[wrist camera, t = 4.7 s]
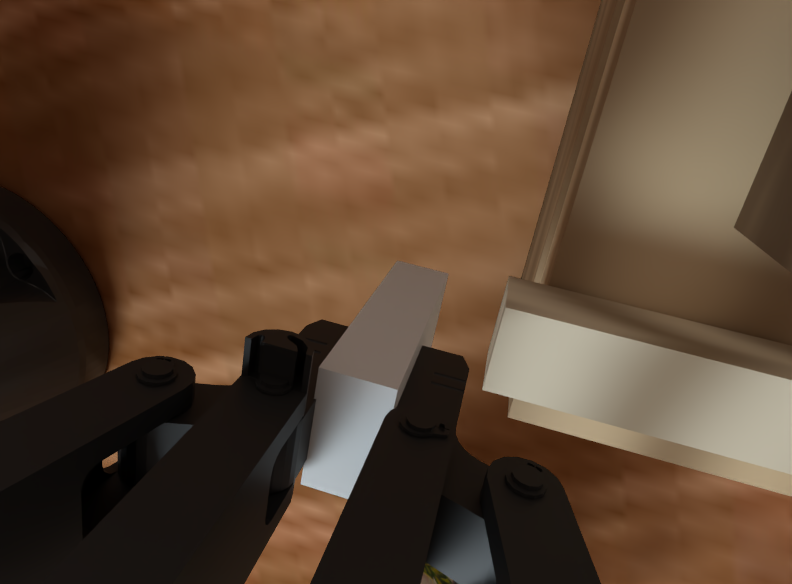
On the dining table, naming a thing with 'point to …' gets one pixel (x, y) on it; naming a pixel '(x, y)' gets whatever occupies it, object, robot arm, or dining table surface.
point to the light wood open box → (573, 136)
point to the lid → (685, 192)
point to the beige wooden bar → (644, 372)
